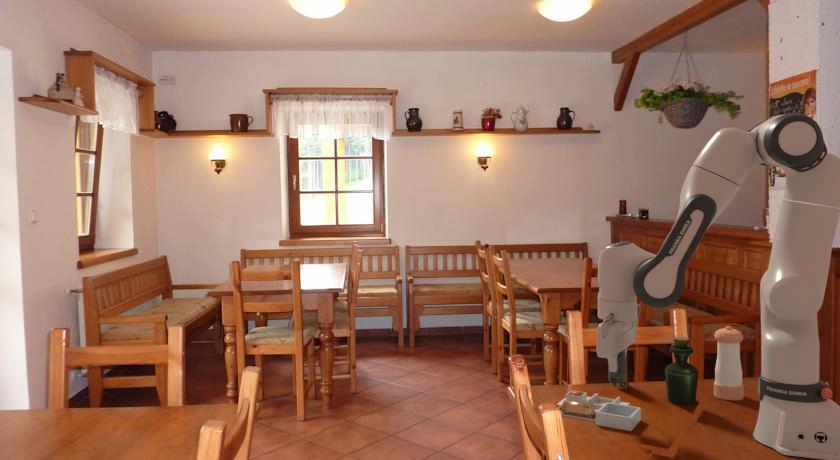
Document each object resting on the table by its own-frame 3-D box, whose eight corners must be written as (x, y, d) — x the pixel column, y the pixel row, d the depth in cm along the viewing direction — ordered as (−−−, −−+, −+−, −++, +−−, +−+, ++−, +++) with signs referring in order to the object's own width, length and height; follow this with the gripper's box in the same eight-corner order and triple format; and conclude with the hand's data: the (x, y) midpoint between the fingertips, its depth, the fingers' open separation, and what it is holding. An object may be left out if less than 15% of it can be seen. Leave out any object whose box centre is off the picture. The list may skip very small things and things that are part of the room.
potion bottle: (669, 400, 170) (669, 333, 169) (701, 405, 166) (701, 336, 165) (661, 408, 164) (660, 339, 163) (694, 414, 159) (694, 343, 158)
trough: (603, 419, 157) (603, 412, 157) (595, 427, 152) (595, 420, 152) (560, 411, 163) (560, 405, 163) (551, 419, 158) (550, 412, 158)
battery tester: (629, 408, 164) (629, 395, 164) (618, 420, 156) (618, 406, 156) (570, 399, 173) (570, 386, 173) (556, 410, 165) (556, 396, 165)
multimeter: (658, 398, 172) (657, 325, 171) (621, 398, 172) (620, 326, 171) (640, 382, 187) (640, 315, 186) (606, 383, 187) (605, 315, 186)
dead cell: (627, 379, 151) (627, 348, 150) (622, 383, 148) (622, 351, 147) (611, 377, 153) (611, 346, 153) (606, 381, 150) (606, 349, 149)
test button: (583, 398, 167) (583, 391, 167) (579, 401, 165) (579, 394, 165) (573, 396, 169) (572, 389, 169) (569, 399, 166) (569, 392, 166)
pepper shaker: (708, 393, 175) (708, 324, 174) (733, 391, 176) (733, 323, 175) (723, 401, 168) (723, 329, 167) (749, 399, 169) (749, 328, 168)
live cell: (594, 417, 157) (594, 402, 157) (589, 422, 154) (589, 406, 154) (565, 412, 161) (565, 397, 161) (559, 416, 158) (559, 401, 158)
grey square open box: (640, 426, 152) (640, 407, 152) (631, 437, 145) (631, 418, 145) (606, 420, 157) (606, 402, 156) (595, 430, 150) (595, 412, 150)
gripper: (617, 319, 139) (617, 381, 140) (642, 305, 156) (642, 360, 157) (589, 317, 142) (589, 377, 143) (616, 303, 159) (616, 357, 160)
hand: (617, 368), depth 150 cm, fingers closed on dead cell, 4 cm apart
